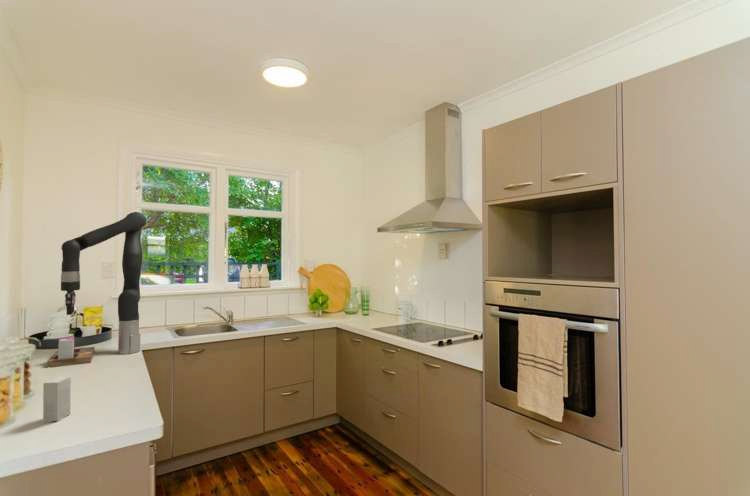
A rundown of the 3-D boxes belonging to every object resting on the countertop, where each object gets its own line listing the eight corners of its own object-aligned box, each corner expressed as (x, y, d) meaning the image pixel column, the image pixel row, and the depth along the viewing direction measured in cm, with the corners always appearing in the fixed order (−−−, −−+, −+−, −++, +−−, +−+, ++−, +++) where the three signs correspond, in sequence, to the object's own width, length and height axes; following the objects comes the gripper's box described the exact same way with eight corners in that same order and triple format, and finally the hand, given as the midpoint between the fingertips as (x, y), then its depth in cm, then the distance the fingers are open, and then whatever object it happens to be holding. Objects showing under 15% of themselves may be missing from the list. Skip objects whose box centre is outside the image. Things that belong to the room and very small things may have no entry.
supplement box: (73, 363, 187) (73, 339, 187) (57, 365, 184) (57, 340, 184) (74, 360, 192) (74, 337, 192) (58, 362, 189) (59, 338, 189)
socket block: (55, 356, 200) (56, 349, 200) (94, 352, 209) (94, 346, 209) (47, 367, 179) (47, 360, 179) (90, 362, 188) (90, 355, 188)
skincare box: (56, 414, 124) (57, 376, 125) (70, 414, 125) (71, 376, 125) (41, 422, 118) (42, 382, 119) (56, 422, 119) (57, 382, 119)
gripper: (62, 280, 196) (62, 312, 196) (59, 281, 185) (58, 316, 184) (81, 279, 201) (81, 311, 200) (78, 281, 189) (78, 314, 188)
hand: (70, 313), depth 192 cm, fingers open, 8 cm apart
